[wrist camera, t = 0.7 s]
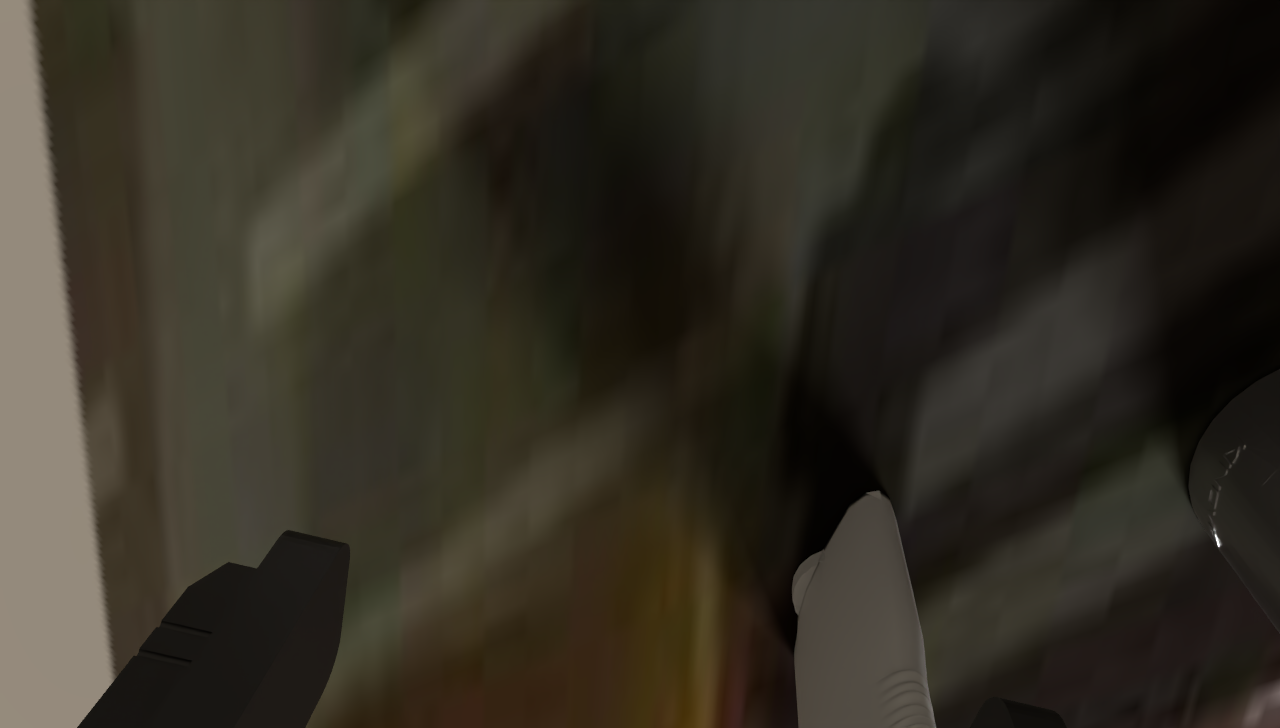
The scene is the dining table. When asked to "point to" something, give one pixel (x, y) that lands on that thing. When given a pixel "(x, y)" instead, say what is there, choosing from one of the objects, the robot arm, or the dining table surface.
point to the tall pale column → (860, 628)
